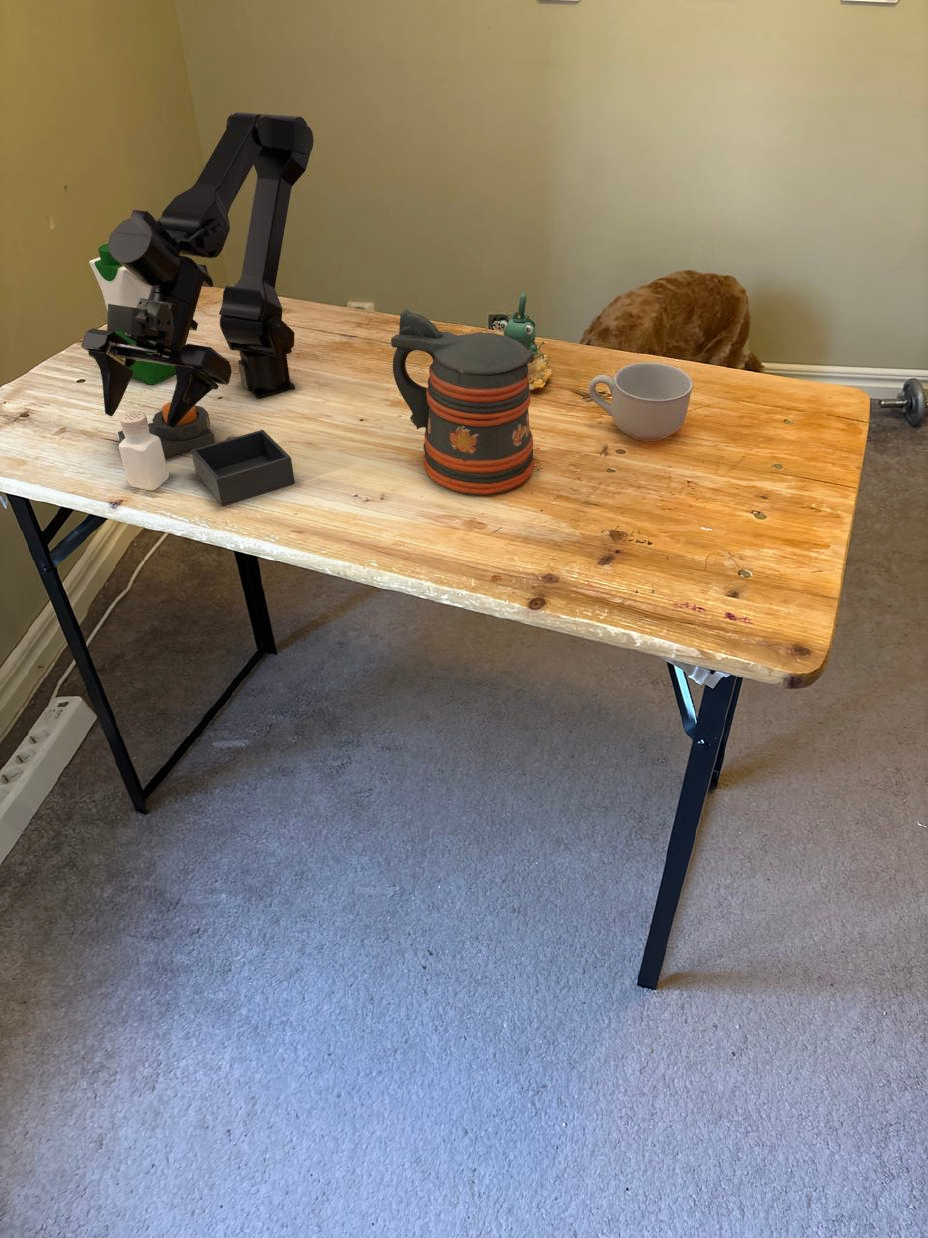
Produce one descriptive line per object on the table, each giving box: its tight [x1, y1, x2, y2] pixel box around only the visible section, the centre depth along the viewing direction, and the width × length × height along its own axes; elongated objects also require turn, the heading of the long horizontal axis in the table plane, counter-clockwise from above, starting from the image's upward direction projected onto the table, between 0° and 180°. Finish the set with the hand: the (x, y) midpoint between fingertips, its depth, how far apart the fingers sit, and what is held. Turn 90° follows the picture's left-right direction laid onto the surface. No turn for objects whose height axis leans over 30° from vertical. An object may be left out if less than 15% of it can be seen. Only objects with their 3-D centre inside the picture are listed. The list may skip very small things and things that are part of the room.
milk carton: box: [88, 243, 176, 386], centre depth 138 cm, size 9×9×20 cm
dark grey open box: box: [190, 429, 296, 508], centre depth 118 cm, size 10×9×4 cm
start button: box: [161, 401, 197, 425], centre depth 125 cm, size 4×4×2 cm
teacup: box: [588, 361, 694, 442], centre depth 126 cm, size 14×11×8 cm
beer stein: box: [390, 309, 535, 496], centre depth 115 cm, size 19×15×20 cm
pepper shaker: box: [118, 410, 170, 491], centre depth 116 cm, size 4×4×10 cm
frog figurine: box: [496, 292, 553, 392], centre depth 137 cm, size 10×18×15 cm, turn 144°
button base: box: [117, 404, 216, 459], centre depth 126 cm, size 12×8×4 cm
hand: (138, 420), depth 114 cm, fingers open, 9 cm apart
